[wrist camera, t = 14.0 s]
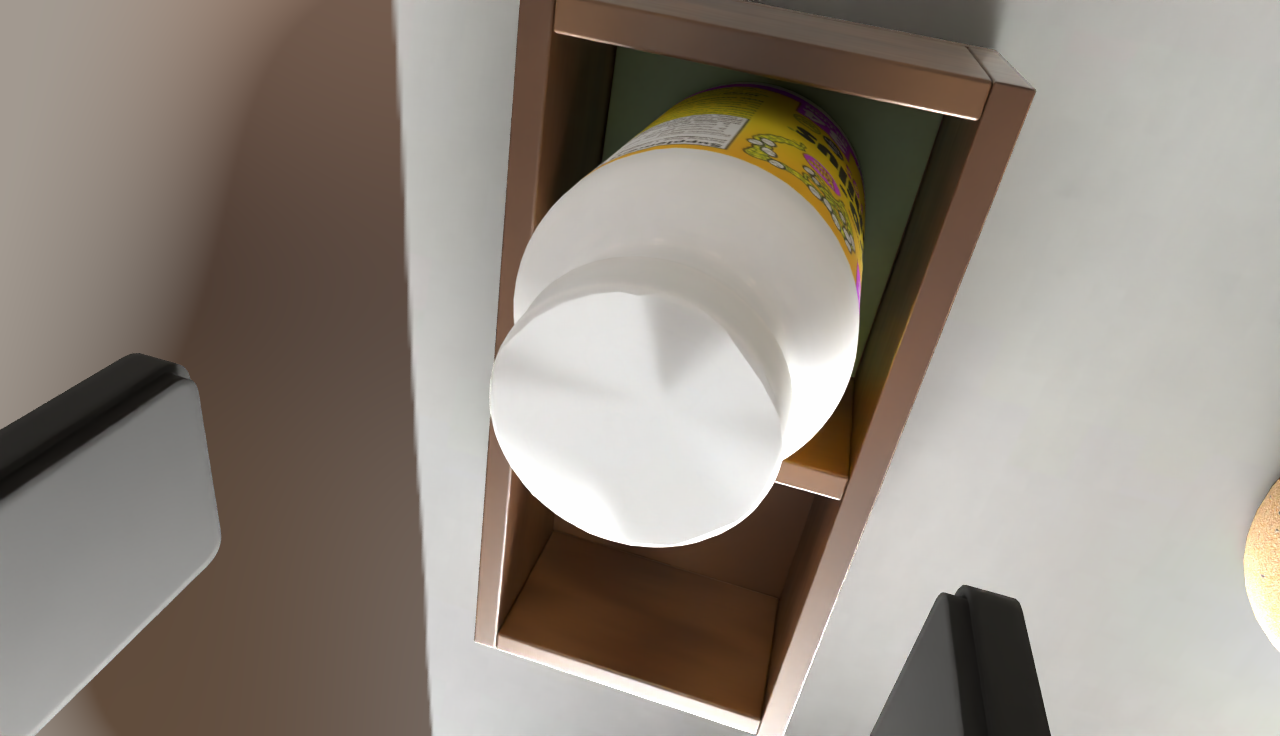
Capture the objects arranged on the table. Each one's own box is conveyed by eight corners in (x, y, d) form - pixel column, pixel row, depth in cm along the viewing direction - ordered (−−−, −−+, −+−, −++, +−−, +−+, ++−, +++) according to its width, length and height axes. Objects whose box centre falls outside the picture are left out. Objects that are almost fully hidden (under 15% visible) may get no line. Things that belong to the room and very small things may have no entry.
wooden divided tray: (538, 528, 32) (473, 642, 27) (603, -27, 22) (519, -16, 17) (797, 608, 31) (780, 744, 26) (997, 50, 21) (1037, 89, 15)
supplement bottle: (878, 289, 23) (879, 602, 12) (662, 315, 26) (502, 600, 15) (851, 49, 21) (819, 181, 10) (611, 101, 23) (367, 256, 12)
